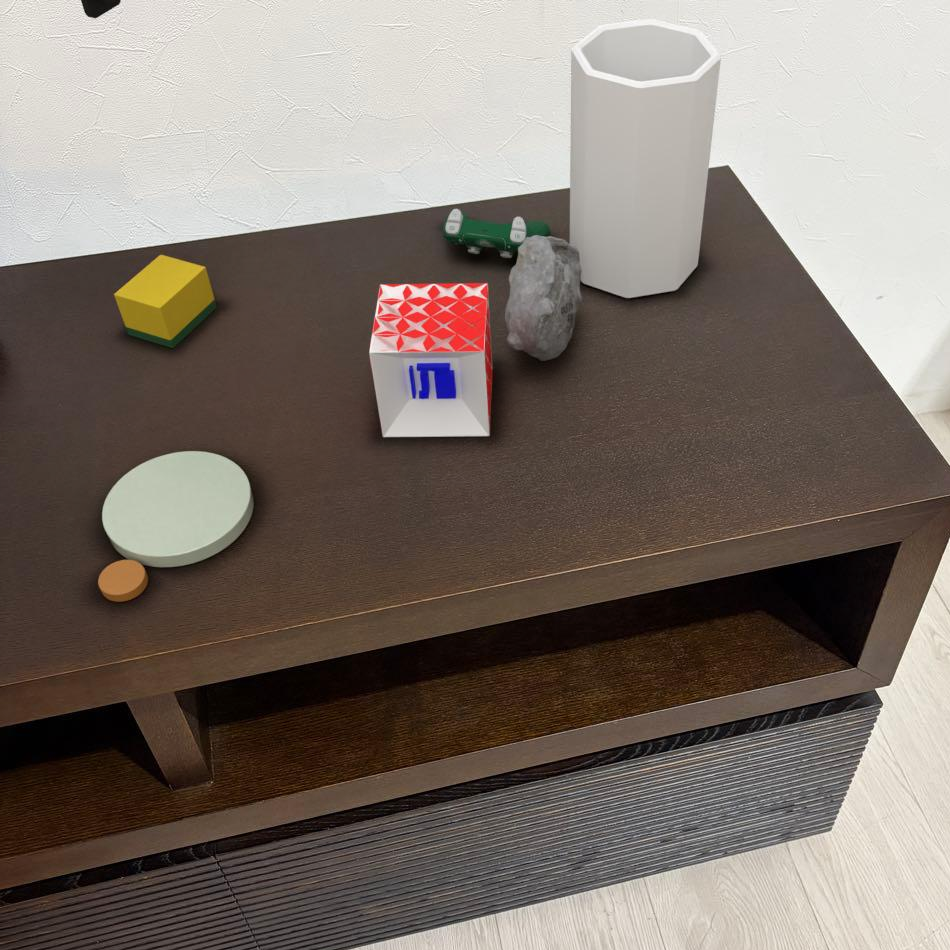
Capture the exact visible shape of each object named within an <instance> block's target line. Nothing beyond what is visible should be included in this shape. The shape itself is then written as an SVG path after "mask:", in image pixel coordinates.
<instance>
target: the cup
mask: <svg viewBox="0 0 950 950" xmlns="http://www.w3.org/2000/svg"><path fill="white" fill-rule="evenodd" d="M570 50H571V51H570V142H569V143H570V144H569V145H570V146H569V147H570V149H569V151H570V153H569V155H570V157H569V159H570V160H569V161H570V162H569V244H570V245H575V247H576V248H577V249H578V251H579V256H580V265H581V270H582V272H581V279H580V283H582V284H584V285H585V286H586V285H587V286H589V287H592V288H596V289H599V290H601V291H604V292H607V293H610V294H613V295H616V296H620V297H622V298H625V299H631V298H638V297H644V296H650V295H656V294H661V293H668V292H675V291H677V290H678V289H679V288H680V287H681V285H683V283H685V281H686V280H687V279H688V278H689V276H690V275H691V274H692V273H693V272H694V270H695V269H696V268H697V267H698V265H699V257H700V248H701V240H702V239H701V237H702V231H703V223H704V222H703V221H704V213H705V203H706V195H707V187H708V186H707V185H708V178H709V169H710V159H711V150H712V141H713V133H714V124H715V123H714V122H715V115H716V106H717V96H718V88H719V79H720V69H721V60H722V55H721V54H720V52H719V51H718V50H717V48H716V47H715V46H714V45H713V43H711V40H709V39H708V38H707V36H706V35H705V33H704V32H702V31H701V30H700V29H697V28H693V27H690V26H685V25H681V24H677V23H672V22H668V21H664V20H661V19H655V18H646V19H645V18H644V19H637V20H630V21H620V22H613V23H604V24H600V25H598V26H597V27H596V28H595V29H593V30H592V31H591V32H590V33H589V34H587V35H586V36H584V37H583V38H582V39H581V40H579V41H578V42H577V43H576V44H574V45H573V46H572V47H571V49H570Z"/></svg>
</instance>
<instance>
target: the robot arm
mask: <svg viewBox="0 0 950 950" xmlns="http://www.w3.org/2000/svg"><path fill="white" fill-rule="evenodd" d="M121 1H122V0H80V3H81V6H82V8H83V11H84V14H85V15H86V17H88V18H91V19H97V18H100V17H101V16H102V15H104V14H106V13H108V12H110V11H111V10H113V9H114V8H116V7H118V6H119V5H120V4H121Z"/></svg>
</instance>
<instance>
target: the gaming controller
mask: <svg viewBox="0 0 950 950" xmlns="http://www.w3.org/2000/svg"><path fill="white" fill-rule="evenodd" d="M512 220H513V221H511V222H509V223H507V224H506V223H499V222H491V221H484V220H475V219H469V217H468V216H467V214H466V212H464V211H462V210H460V209H458V208H454V209H452V211H451V212H450V213H449V214H448V215H447V217H446V218H445V220H444V221H443V225H442V234H443V238H444V239H445V242H446V243H448V244H449V243H450V244H453V245H455V246H460V245H465V247H466V248H467V252H468V253H470V254H474V255H479V254H480V253H481V251H482V250H483V249H484V248H489V249H497V250H498V252H499V255H500V257H501V258H504V259H511V258H513V255H515V254H516V253H518V247H520V246H521V245H522V244H523V242H524V240H525V239H526V238H527V237H532V236H535V235H538V236H543V237H548V236H551V234H552V233H551V232H552V231H551V228H550V226H549V224H548V223H547V222H545V221H543V220H533V221H528V222H526V221H525V220H524V219H523V217H522V216H515V217H514V218H513V219H512Z"/></svg>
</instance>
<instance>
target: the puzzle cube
mask: <svg viewBox="0 0 950 950" xmlns="http://www.w3.org/2000/svg"><path fill="white" fill-rule="evenodd" d="M489 297H490V296H489V283H488V282H481V283H480V282H478V283H477V282H476V283H475V282H473V283H471V282H469V283H466V282H465V283H462V282H461V283H456V282H455V283H380V284H379V288H378V293H377V302H376V308H375V313H374V319H373V327H372V332H371V338H370V343H369V350H368V355H369V364H370V369H371V373H372V380H373V386H374V393H375V397H376V405H377V410H378V417H379V423H380V431H381V437H382V438H423V437H425V438H432V437H433V438H434V437H435V438H436V437H437V438H438V437H439V438H440V437H490V435H491V414H492V412H491V411H492V410H491V409H492V391H493V390H492V389H493V371H494V370H493V369H494V368H493V352H492V351H493V350H492V335H491V334H492V333H491V319H490V318H491V317H490V313H491V312H490V298H489Z"/></svg>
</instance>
